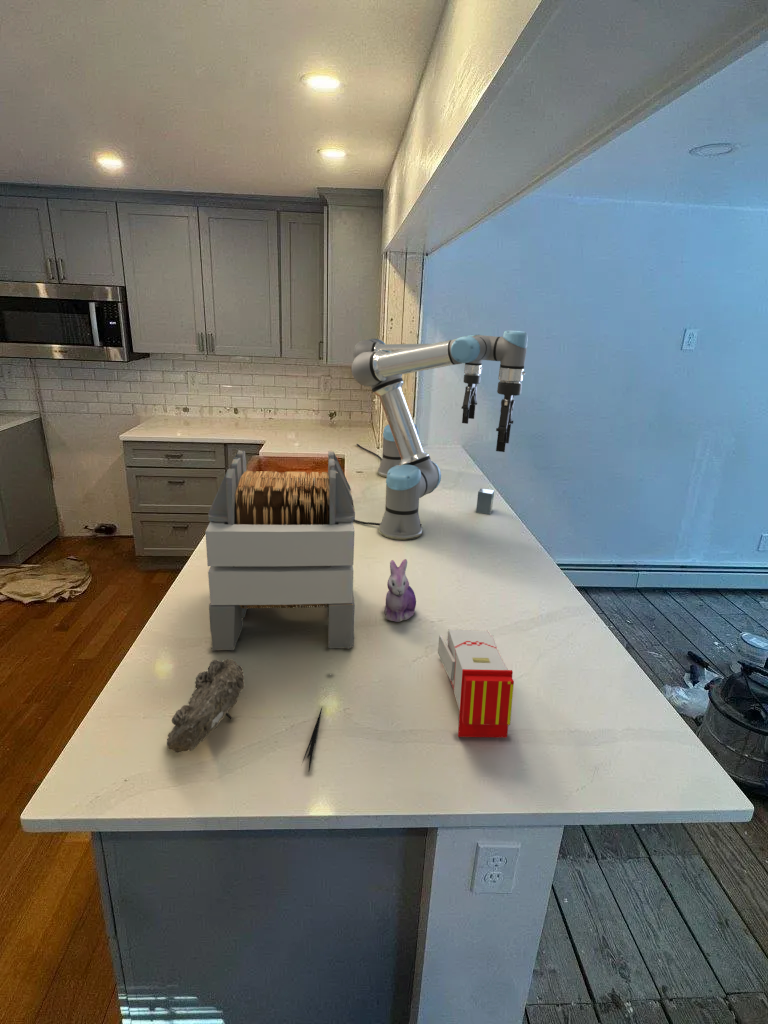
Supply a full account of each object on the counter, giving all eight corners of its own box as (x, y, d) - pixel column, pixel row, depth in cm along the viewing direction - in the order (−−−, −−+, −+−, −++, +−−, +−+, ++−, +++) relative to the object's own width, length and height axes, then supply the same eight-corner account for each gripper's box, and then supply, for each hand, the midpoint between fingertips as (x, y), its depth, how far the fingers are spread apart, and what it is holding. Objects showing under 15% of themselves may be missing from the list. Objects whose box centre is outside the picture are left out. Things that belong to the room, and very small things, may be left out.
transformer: (231, 583, 159) (223, 441, 145) (347, 582, 163) (350, 443, 149) (209, 653, 127) (196, 479, 114) (354, 649, 131) (359, 481, 117)
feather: (331, 679, 122) (336, 673, 122) (307, 777, 96) (313, 769, 95) (324, 675, 122) (329, 669, 121) (298, 772, 95) (304, 764, 95)
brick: (489, 514, 223) (492, 493, 220) (475, 512, 225) (478, 491, 222) (492, 510, 228) (494, 490, 225) (478, 508, 229) (480, 488, 226)
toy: (488, 613, 130) (523, 677, 101) (484, 667, 133) (517, 744, 104) (435, 612, 130) (455, 676, 101) (432, 666, 133) (451, 743, 103)
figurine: (392, 627, 141) (395, 572, 136) (374, 608, 149) (376, 556, 144) (425, 619, 145) (429, 566, 140) (405, 601, 154) (408, 550, 149)
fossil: (192, 660, 117) (244, 628, 112) (224, 691, 120) (276, 661, 115) (142, 746, 98) (202, 712, 93) (182, 779, 101) (242, 748, 96)
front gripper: (519, 387, 168) (510, 456, 175) (525, 378, 191) (517, 440, 198) (493, 385, 170) (486, 453, 177) (502, 376, 193) (495, 438, 200)
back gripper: (475, 377, 245) (470, 426, 252) (485, 372, 267) (481, 417, 274) (458, 376, 247) (454, 424, 254) (470, 371, 269) (465, 415, 277)
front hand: (502, 447), depth 188 cm, fingers open, 13 cm apart
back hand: (468, 420), depth 264 cm, fingers open, 13 cm apart
